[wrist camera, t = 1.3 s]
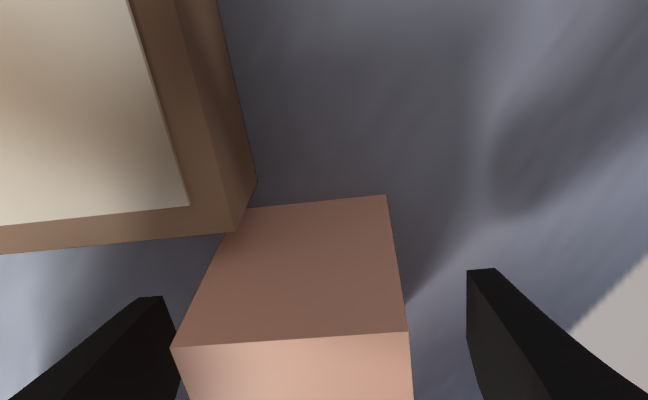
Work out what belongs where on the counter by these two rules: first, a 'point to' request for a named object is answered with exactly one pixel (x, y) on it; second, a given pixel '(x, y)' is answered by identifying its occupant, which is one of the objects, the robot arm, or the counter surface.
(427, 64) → the counter surface
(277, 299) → the terracotta block
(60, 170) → the walnut foundation
